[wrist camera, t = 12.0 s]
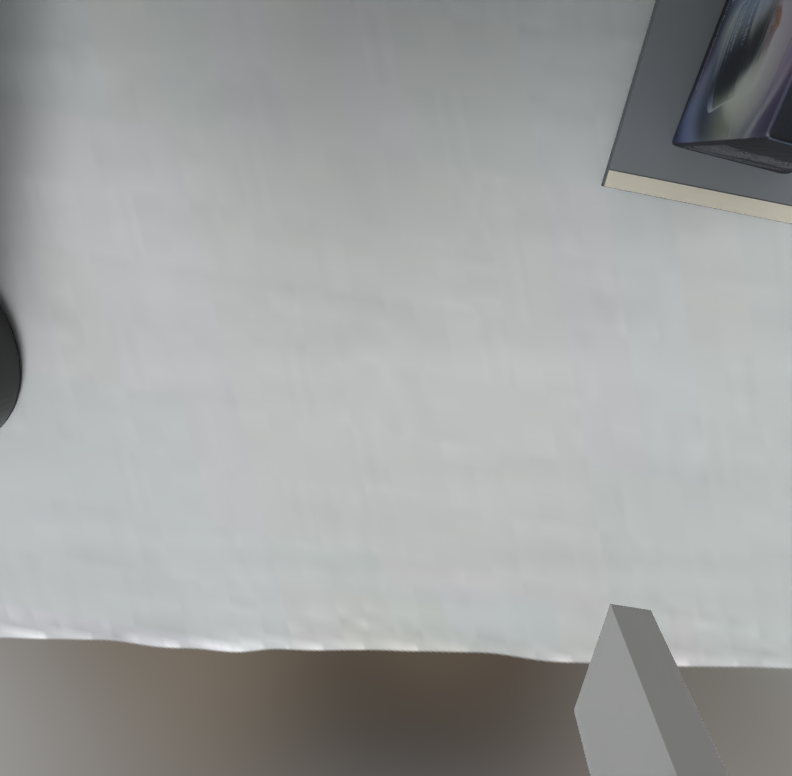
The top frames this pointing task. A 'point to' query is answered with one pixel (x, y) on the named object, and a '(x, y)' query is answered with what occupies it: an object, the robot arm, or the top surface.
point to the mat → (659, 118)
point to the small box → (744, 88)
